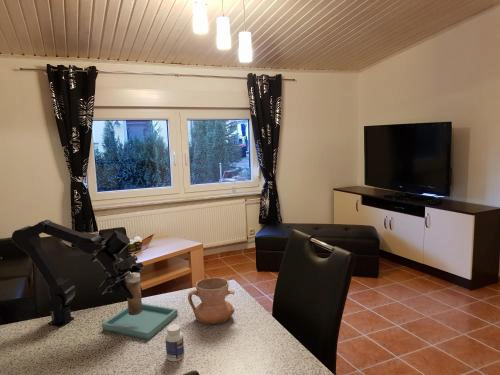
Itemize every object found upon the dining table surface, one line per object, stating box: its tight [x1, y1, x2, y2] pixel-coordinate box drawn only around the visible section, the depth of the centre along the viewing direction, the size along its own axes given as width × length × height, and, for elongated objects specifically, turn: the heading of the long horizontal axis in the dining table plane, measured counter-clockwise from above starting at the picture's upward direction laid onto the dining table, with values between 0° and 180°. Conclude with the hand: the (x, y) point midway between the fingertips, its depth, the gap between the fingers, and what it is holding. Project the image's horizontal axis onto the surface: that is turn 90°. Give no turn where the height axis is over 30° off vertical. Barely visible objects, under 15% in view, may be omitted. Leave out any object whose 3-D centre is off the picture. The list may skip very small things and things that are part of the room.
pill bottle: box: [164, 324, 185, 362], centre depth 111 cm, size 5×5×10 cm
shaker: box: [125, 272, 143, 315], centre depth 129 cm, size 5×5×14 cm
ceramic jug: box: [187, 277, 236, 326], centre depth 134 cm, size 18×14×14 cm
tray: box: [101, 302, 179, 341], centre depth 133 cm, size 20×18×2 cm
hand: (137, 295), depth 128 cm, fingers closed on shaker, 5 cm apart
